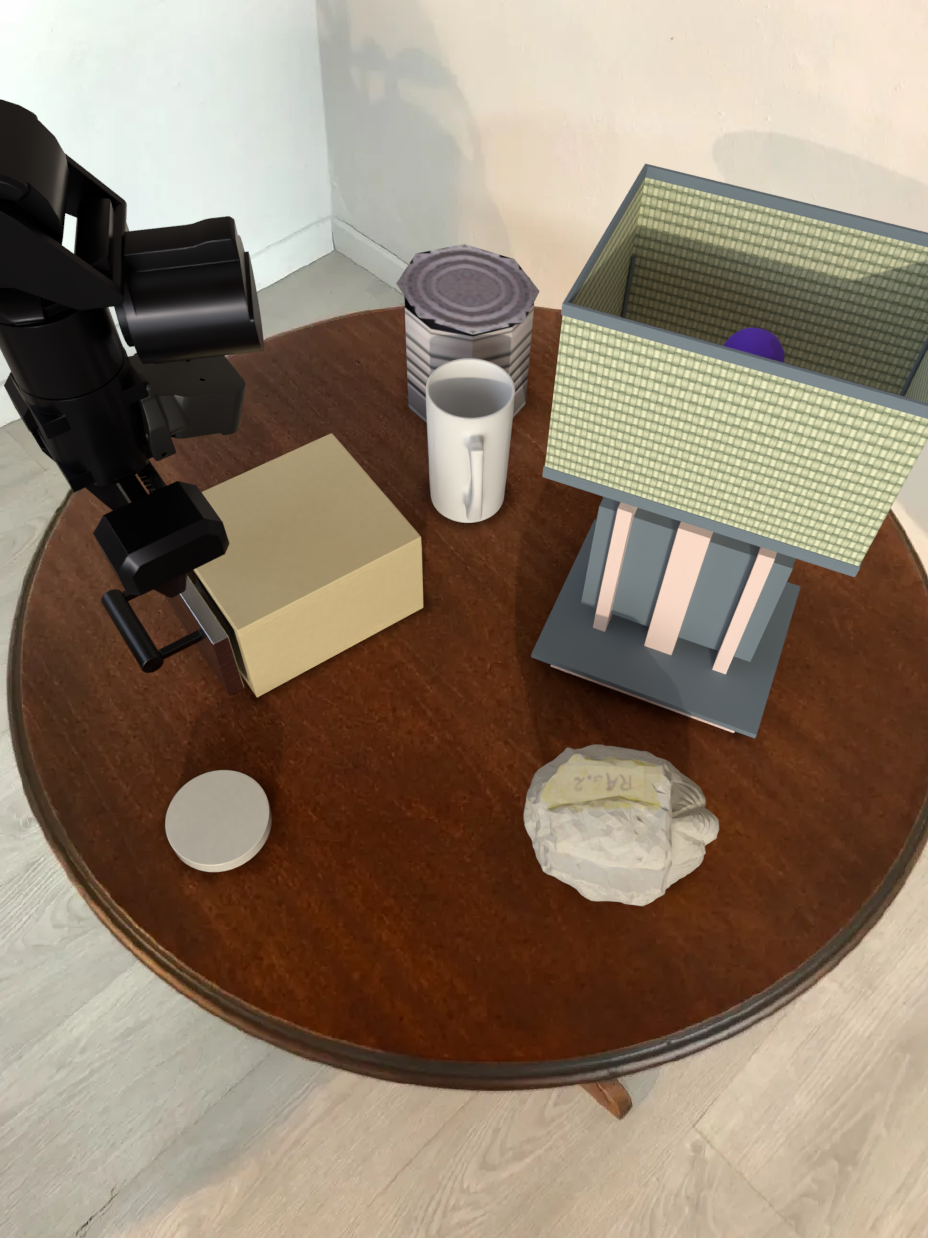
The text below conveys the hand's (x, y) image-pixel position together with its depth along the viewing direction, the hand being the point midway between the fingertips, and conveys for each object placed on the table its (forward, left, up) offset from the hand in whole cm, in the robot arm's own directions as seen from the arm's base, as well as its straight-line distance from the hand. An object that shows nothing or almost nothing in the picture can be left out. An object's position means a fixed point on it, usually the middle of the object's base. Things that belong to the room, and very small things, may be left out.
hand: (149, 550), depth 66 cm
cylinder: (-4, -14, -13) cm, 19 cm away
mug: (+26, 0, -13) cm, 29 cm away
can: (+34, +12, -13) cm, 38 cm away
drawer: (+5, 0, -12) cm, 13 cm away
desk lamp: (+31, -19, -13) cm, 38 cm away
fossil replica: (+17, -30, -13) cm, 37 cm away
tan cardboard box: (+10, 0, -13) cm, 16 cm away
